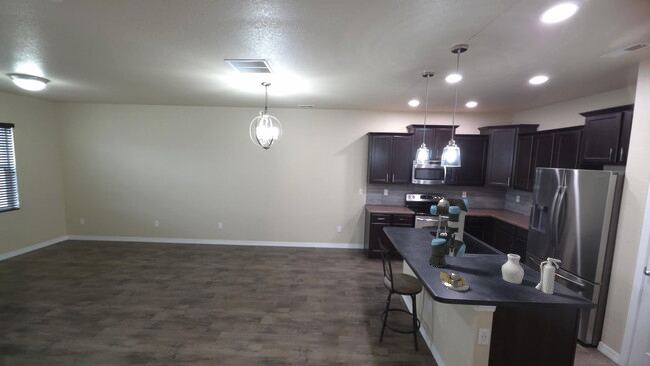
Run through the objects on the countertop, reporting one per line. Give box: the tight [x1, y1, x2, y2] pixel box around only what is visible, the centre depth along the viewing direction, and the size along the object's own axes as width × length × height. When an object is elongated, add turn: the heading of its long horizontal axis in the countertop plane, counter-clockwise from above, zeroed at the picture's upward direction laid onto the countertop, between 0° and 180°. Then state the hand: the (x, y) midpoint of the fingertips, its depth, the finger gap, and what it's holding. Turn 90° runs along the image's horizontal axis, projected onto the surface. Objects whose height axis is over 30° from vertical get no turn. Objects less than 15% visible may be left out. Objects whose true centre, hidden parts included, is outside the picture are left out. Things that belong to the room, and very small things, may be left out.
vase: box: [501, 253, 525, 285], centre depth 201 cm, size 14×14×20 cm
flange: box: [441, 271, 470, 292], centre depth 189 cm, size 18×18×9 cm
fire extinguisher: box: [535, 257, 562, 295], centre depth 183 cm, size 7×12×25 cm, turn 65°
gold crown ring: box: [439, 270, 466, 287], centre depth 191 cm, size 17×12×5 cm
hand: (451, 253), depth 198 cm, fingers open, 13 cm apart
